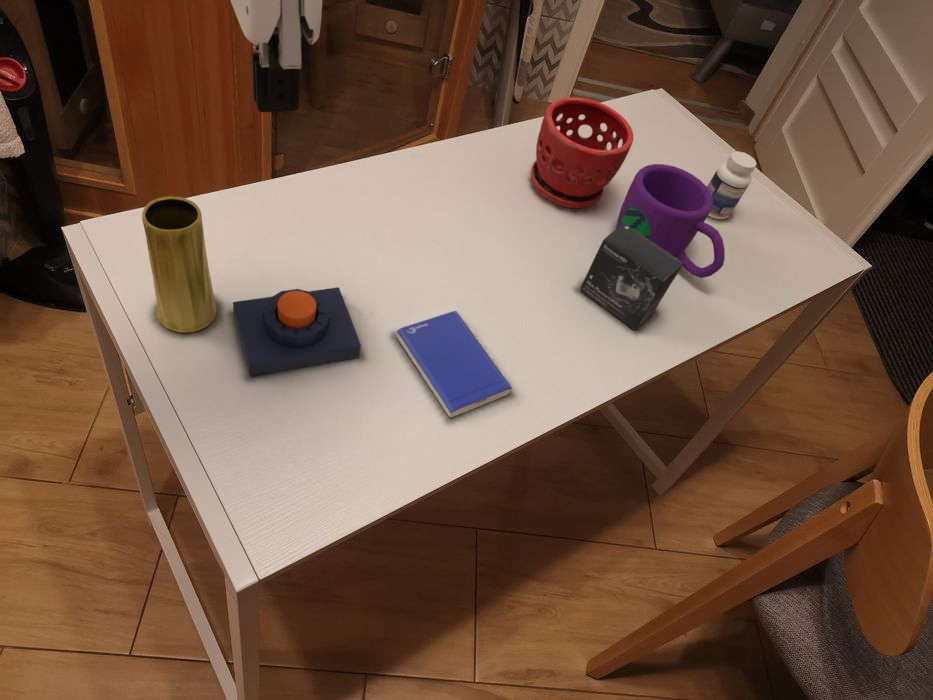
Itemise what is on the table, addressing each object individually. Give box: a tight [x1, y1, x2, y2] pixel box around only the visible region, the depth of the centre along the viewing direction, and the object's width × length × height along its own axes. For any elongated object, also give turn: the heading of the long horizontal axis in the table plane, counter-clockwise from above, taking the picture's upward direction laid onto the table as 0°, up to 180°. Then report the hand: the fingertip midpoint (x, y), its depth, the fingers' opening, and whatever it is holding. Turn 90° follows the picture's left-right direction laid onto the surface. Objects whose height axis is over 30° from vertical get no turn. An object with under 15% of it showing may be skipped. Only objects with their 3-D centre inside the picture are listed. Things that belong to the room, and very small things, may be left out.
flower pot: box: [530, 97, 634, 209], centre depth 101 cm, size 13×13×12 cm
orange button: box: [278, 291, 316, 329], centre depth 74 cm, size 4×4×2 cm
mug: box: [615, 163, 726, 279], centre depth 96 cm, size 17×11×10 cm, turn 35°
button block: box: [232, 287, 361, 378], centre depth 75 cm, size 12×9×4 cm
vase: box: [141, 195, 217, 334], centre depth 71 cm, size 6×6×14 cm
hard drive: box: [395, 310, 513, 419], centre depth 78 cm, size 2×8×12 cm
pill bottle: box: [706, 150, 757, 220], centre depth 107 cm, size 5×5×10 cm
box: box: [579, 223, 684, 331], centre depth 88 cm, size 9×6×10 cm, turn 49°
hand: (276, 105), depth 54 cm, fingers closed
